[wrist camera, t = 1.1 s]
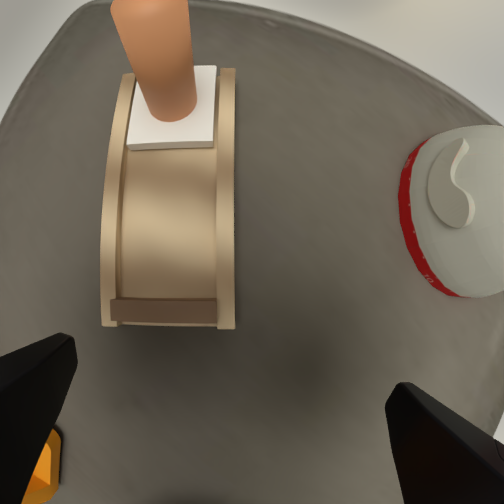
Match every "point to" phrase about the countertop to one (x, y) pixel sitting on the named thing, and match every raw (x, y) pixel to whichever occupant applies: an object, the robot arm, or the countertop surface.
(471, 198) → the kitchen timer
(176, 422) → the countertop surface
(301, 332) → the countertop surface
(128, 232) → the wooden tray
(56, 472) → the bracket
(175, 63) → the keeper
